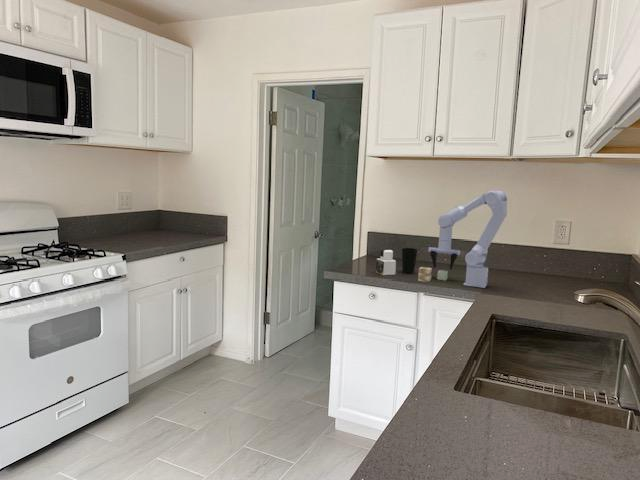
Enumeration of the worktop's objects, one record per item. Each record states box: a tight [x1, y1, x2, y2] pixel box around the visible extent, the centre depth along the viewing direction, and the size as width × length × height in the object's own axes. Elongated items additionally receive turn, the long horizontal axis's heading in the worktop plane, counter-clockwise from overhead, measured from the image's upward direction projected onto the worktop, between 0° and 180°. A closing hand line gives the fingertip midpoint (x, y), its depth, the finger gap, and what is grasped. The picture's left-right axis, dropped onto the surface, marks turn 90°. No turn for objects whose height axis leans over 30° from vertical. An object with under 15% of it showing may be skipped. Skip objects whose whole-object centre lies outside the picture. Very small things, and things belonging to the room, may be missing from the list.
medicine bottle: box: [375, 248, 397, 276], centre depth 235 cm, size 7×7×12 cm
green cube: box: [436, 269, 449, 281], centre depth 228 cm, size 4×4×4 cm
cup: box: [401, 247, 418, 275], centre depth 239 cm, size 8×8×12 cm
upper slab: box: [418, 266, 433, 276], centre depth 223 cm, size 5×5×3 cm
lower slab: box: [417, 274, 432, 283], centre depth 223 cm, size 5×5×3 cm
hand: (442, 268), depth 227 cm, fingers open, 7 cm apart
